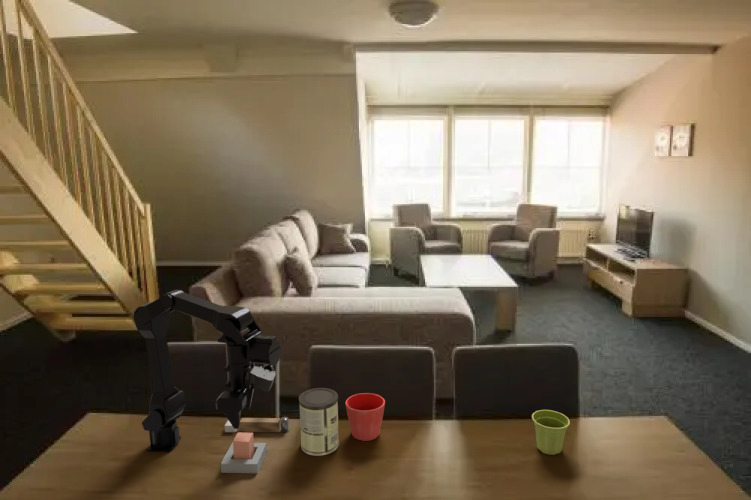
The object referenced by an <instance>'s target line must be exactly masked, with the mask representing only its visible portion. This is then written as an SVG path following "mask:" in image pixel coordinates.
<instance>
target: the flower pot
mask: <svg viewBox="0 0 751 500" xmlns="http://www.w3.org/2000/svg"><path fill="white" fill-rule="evenodd" d="M344 405H345V409H346V414H347V418H348V423H349V428H350V431H351V435H352V437H353V438H354V439H356V440H359V441H364V442H365V441H367V442H368V441H373V440H375V439H377V438H378V437H379V435H380V432H381V428H382V422H383V418H384V411H385V405H386V400H385V398H383V397H382V396H381V395H379V394H376V393H372V392H365V393H364V392H363V393H362V392H361V393H355V394H353V395H351V396H349V397H348V398H347V399H346V400H345V404H344Z"/></svg>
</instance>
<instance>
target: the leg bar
mask: <svg viewBox="0 0 751 500" xmlns="http://www.w3.org/2000/svg"><path fill="white" fill-rule="evenodd" d="M280 419H281V418H280V417H275V418H272V417H271V418H270V417H268V418H267V417H242V418H241V417H240V425H239V432H240V433H279V432H280V431H281V420H280Z"/></svg>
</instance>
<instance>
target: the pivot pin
mask: <svg viewBox="0 0 751 500" xmlns="http://www.w3.org/2000/svg"><path fill="white" fill-rule="evenodd" d="M289 423H290V422H289V417H288V416H282V417H281V418H280V432H281V433H287V432H289V429H290V428H289V427H290V426H289Z"/></svg>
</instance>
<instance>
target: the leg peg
mask: <svg viewBox="0 0 751 500" xmlns="http://www.w3.org/2000/svg"><path fill="white" fill-rule="evenodd" d="M254 435H255V434H254V432H240V431H238V432H237V433H236V434H235V436H234V439H233V441H232V443H233V452H234V459H250V460H252V458H253V456H254V443H255V438H254Z"/></svg>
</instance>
